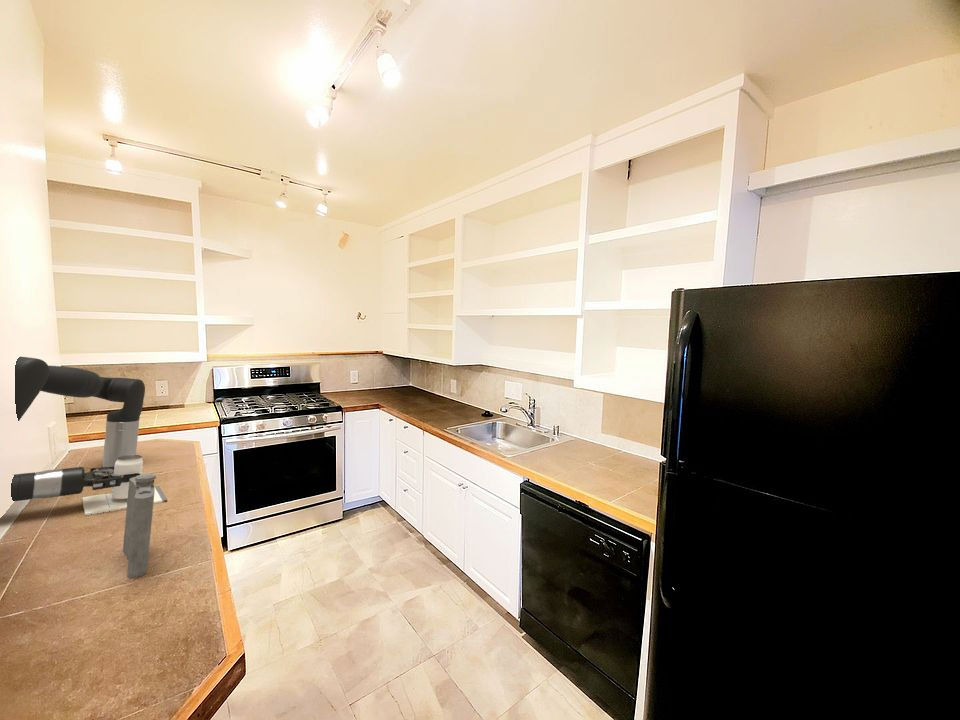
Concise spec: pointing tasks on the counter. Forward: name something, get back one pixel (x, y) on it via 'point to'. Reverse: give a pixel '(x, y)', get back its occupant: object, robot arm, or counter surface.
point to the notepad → (113, 502)
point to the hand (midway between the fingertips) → (138, 473)
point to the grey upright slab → (138, 523)
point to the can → (123, 467)
